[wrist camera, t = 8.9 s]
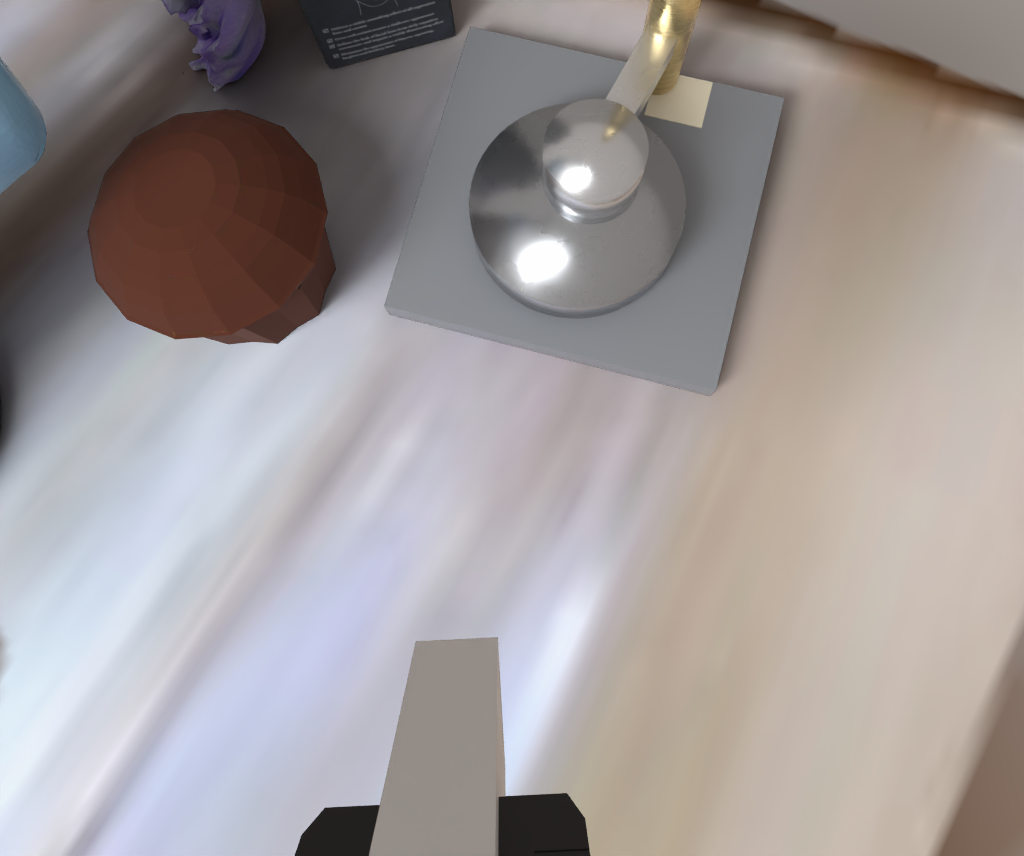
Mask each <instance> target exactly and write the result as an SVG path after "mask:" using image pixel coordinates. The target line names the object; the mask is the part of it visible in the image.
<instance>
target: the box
mask: <svg viewBox="0 0 1024 856" xmlns="http://www.w3.org/2000/svg"><path fill="white" fill-rule="evenodd" d="M299 2H300V4H301V7H302V9H303V12H304V14H305V16H306V18H307V20H308V23H309V25H310V27H311V29H312V31H313V34H314V36H315V38H316V41H317V43H318V45H319V48H320V50H321V52H322V55H323V57H324V59H325V62H326V64H327V65H328V66H329V68H337V67H341V66H344V65H348V64H351V63H355V62H359V61H363V60H367V59H370V58H374V57H377V56H381V55H385V54H389V53H392V52H396V51H400V50H404V49H407V48H411V47H415V46H419V45H422V44H426V43H430V42H433V41H437V40H441V39H445V38H448V37H452V36H455V26H454V19H453V12H452V6H451V1H450V0H299Z"/></svg>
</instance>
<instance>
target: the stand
mask: <svg viewBox="0 0 1024 856" xmlns="http://www.w3.org/2000/svg"><path fill="white" fill-rule="evenodd" d="M625 64H626V62H624V61H620V60H615V59H611V58H607V57H602V56H598V55H593V54H589V53H585V52H580V51H576V50H571V49H567V48H563V47H558V46H554V45H549V44H545V43H540V42H536V41H532V40H527V39H523V38H518V37H514V36H510V35H505V34H501V33H496V32H492V31H487V30H483V29H479V28H474V27H470V28H469V32H468V35H467V38H466V41H465V45H464V48H463V51H462V54H461V58H460V61H459V64H458V67H457V71H456V74H455V77H454V80H453V84H452V87H451V90H450V93H449V97H448V100H447V103H446V106H445V110H444V113H443V116H442V119H441V123H440V126H439V129H438V132H437V136H436V139H435V142H434V145H433V149H432V152H431V155H430V158H429V162H428V165H427V168H426V171H425V175H424V178H423V181H422V184H421V188H420V191H419V194H418V197H417V201H416V204H415V207H414V210H413V214H412V217H411V220H410V223H409V227H408V230H407V233H406V237H405V240H404V243H403V246H402V250H401V253H400V256H399V259H398V263H397V266H396V269H395V272H394V276H393V279H392V282H391V285H390V289H389V292H388V295H387V298H386V302H385V305H384V306H385V308H386V310H387V311H388V313H389V314H390V315H394V316H398V317H402V318H406V319H409V320H413V321H417V322H421V323H425V324H429V325H433V326H437V327H441V328H445V329H449V330H453V331H457V332H460V333H464V334H468V335H472V336H476V337H480V338H484V339H488V340H492V341H496V342H500V343H504V344H507V345H511V346H515V347H519V348H523V349H527V350H531V351H535V352H539V353H543V354H547V355H551V356H555V357H558V358H562V359H566V360H570V361H574V362H578V363H582V364H586V365H590V366H594V367H598V368H602V369H605V370H609V371H613V372H617V373H621V374H625V375H629V376H633V377H637V378H641V379H645V380H649V381H653V382H656V383H660V384H664V385H668V386H672V387H676V388H680V389H684V390H688V391H692V392H696V393H700V394H704V395H707V396H710V395H711V394H712V393H713V392H715V391H716V388H717V384H718V380H719V375H720V371H721V367H722V363H723V358H724V354H725V350H726V346H727V341H728V337H729V333H730V328H731V324H732V320H733V316H734V311H735V307H736V303H737V299H738V294H739V290H740V286H741V281H742V277H743V273H744V269H745V264H746V260H747V256H748V252H749V247H750V243H751V239H752V234H753V230H754V226H755V222H756V217H757V213H758V209H759V205H760V200H761V196H762V192H763V187H764V183H765V179H766V175H767V170H768V166H769V162H770V158H771V153H772V149H773V145H774V140H775V136H776V132H777V128H778V123H779V119H780V115H781V111H782V106H783V102H784V98H783V97H779V96H774V95H770V94H766V93H761V92H757V91H752V90H748V89H744V88H739V87H735V86H730V85H726V84H721V83H717V82H713V81H708V80H704V79H699V78H695V77H691V76H686V75H682V74H680V75H679V78H678V81H677V84H676V85H675V87H674V88H673V89H672V90H671V91H669V92H668V93H666V94H662V95H651V96H650V97H649V99H648V101H647V103H646V104H645V106H644V108H643V110H642V112H641V113H640V115H639V117H638V119H639V120H640V121H641V122H642V123H643V124H644V125H646V126H647V127H648V128H650V129H651V130H652V131H653V132H654V133H655V134H656V135H657V136H658V137H659V138H660V139H661V140H662V141H663V143H664V144H665V145H666V146H667V148H668V149H669V151H670V152H671V154H672V156H673V157H674V159H675V161H676V163H677V165H678V168H679V170H680V172H681V176H682V179H683V183H684V188H685V195H686V214H685V221H684V227H683V230H682V233H681V237H680V240H679V242H678V244H677V246H676V248H675V250H674V253H673V255H672V257H671V259H670V261H669V263H668V266H667V267H666V269H665V270H664V272H663V273H662V275H661V277H660V278H659V279H658V280H657V281H656V283H655V284H654V285H653V286H652V287H651V288H650V289H649V290H648V291H647V292H646V293H645V294H643V295H642V296H641V297H640V298H638V299H637V300H635V301H634V302H632V303H631V304H629V305H627V306H625V307H623V308H621V309H619V310H617V311H614V312H611V313H608V314H605V315H601V316H596V317H591V318H580V319H575V318H561V317H555V316H550V315H546V314H543V313H539V312H537V311H534V310H532V309H530V308H528V307H525V306H524V305H522V304H520V303H519V302H517V301H515V300H514V299H513V298H511V297H510V296H509V295H508V294H506V293H505V292H504V291H503V290H502V289H501V288H500V287H499V286H498V285H497V284H496V283H495V282H494V281H493V279H492V278H491V277H490V275H489V274H488V272H487V271H486V269H485V267H484V266H483V264H482V262H481V260H480V258H479V255H478V252H477V250H476V246H475V242H474V238H473V233H472V227H471V222H470V214H469V194H470V188H471V183H472V178H473V176H474V173H475V170H476V167H477V165H478V163H479V161H480V159H481V157H482V155H483V154H484V152H485V151H486V149H487V148H488V146H489V145H490V144H491V142H492V141H493V140H494V139H495V138H496V137H497V136H498V135H499V134H500V133H501V132H502V131H503V130H504V129H505V128H507V127H508V126H509V125H510V124H512V123H513V122H515V121H516V120H518V119H519V118H521V117H523V116H525V115H527V114H529V113H531V112H533V111H536V110H539V109H542V108H545V107H549V106H553V105H558V104H566V103H575V102H578V101H581V100H586V99H606V97H607V96H608V94H609V92H610V90H611V89H612V87H613V85H614V83H615V82H616V80H617V78H618V76H619V75H620V73H621V71H622V69H623V68H624V66H625Z"/></svg>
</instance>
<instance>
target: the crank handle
mask: <svg viewBox="0 0 1024 856" xmlns="http://www.w3.org/2000/svg"><path fill="white" fill-rule="evenodd" d="M701 2H702V0H650V2H649V6H648V11H647V16H646V21H645V25H644V30H643V34H642V36H641V38H640V40H639V41H638V43H637V45H636V47H635V48H634V50H633V52H632V54H631V55H630V57H629V59H628V61H627V62H626V64H625V66H624V68H623V69H622V71H621V73H620V75H619V76H618V78H617V80H616V82H615V83H614V85H613V87H612V89H611V90H610V92H609V94H608V96H607V97H606V99H586V100H581V101H578V102H575V103H566V104H558V105H553V106H549V107H545V108H542V109H539V110H536V111H533V112H531V113H529V114H527V115H525V116H523V117H521V118H519V119H518V120H516V121H515V122H513V123H512V124H510V125H509V126H508V127H507V128H505V129H504V130H503V131H502V132H501V133H500V134H499V135H498V136H497V137H496V138H495V139H494V140H493V141H492V142H491V144H490V145H489V146H488V148H487V149H486V151H485V152H484V154H483V155H482V157H481V159H480V161H479V163H478V165H477V167H476V170H475V173H474V176H473V178H472V183H471V188H470V194H469V214H470V222H471V227H472V233H473V238H474V242H475V246H476V250H477V252H478V255H479V258H480V260H481V262H482V264H483V266H484V267H485V269H486V271H487V272H488V274H489V275H490V277H491V278H492V279H493V281H494V282H495V283H496V284H497V285H498V286H499V287H500V288H501V289H502V290H503V291H504V292H505V293H506V294H508V295H509V296H510V297H511V298H513V299H514V300H515V301H517V302H519V303H520V304H522V305H524V306H525V307H528V308H530V309H532V310H534V311H537V312H539V313H543V314H546V315H550V316H555V317H561V318H575V319H580V318H591V317H596V316H601V315H605V314H608V313H611V312H614V311H617V310H619V309H621V308H623V307H625V306H627V305H629V304H631V303H632V302H634V301H635V300H637V299H638V298H640V297H641V296H642V295H643V294H645V293H646V292H647V291H648V290H649V289H650V288H651V287H652V286H653V285H654V284H655V283H656V281H657V280H658V279H659V278H660V277H661V275H662V273H663V272H664V270H665V269H666V267H667V266H668V263H669V261H670V259H671V257H672V255H673V253H674V250H675V248H676V246H677V244H678V242H679V240H680V237H681V233H682V230H683V227H684V221H685V214H686V195H685V188H684V183H683V179H682V176H681V172H680V170H679V168H678V165H677V163H676V161H675V159H674V157H673V156H672V154H671V152H670V151H669V149H668V148H667V146H666V145H665V144H664V143H663V141H662V140H661V139H660V138H659V137H658V136H657V135H656V134H655V133H654V132H653V131H652V130H651V129H650V128H648V127H647V126H646V125H644V124H643V123H642V122H641V121H640V120H639V119H638V117H639V115H640V113H641V112H642V110H643V108H644V106H645V104H646V103H647V101H648V99H649V97H650V96H651V95H662V94H666V93H668V92H669V91H671V90H672V89H673V88H674V87H675V85H676V84H677V81H678V78H679V75H680V71H681V68H682V65H683V61H684V58H685V55H686V52H687V48H688V45H689V42H690V38H691V35H692V32H693V29H694V25H695V22H696V19H697V15H698V12H699V9H700V5H701Z"/></svg>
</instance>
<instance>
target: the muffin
mask: <svg viewBox="0 0 1024 856" xmlns="http://www.w3.org/2000/svg"><path fill="white" fill-rule="evenodd" d="M327 213H328V212H327V207H326V203H325V199H324V194H323V190H322V186H321V181H320V177H319V173H318V168H317V164H316V163H315V162H314V160H313V159H312V158H311V157H310V156H309V155H308V154H307V153H306V151H305V150H304V149H303V148H302V147H301V146H300V145H299V144H298V142H297V141H296V140H295V139H294V138H293V137H292V136H291V135H290V133H289V132H288V131H287V130H286V129H285V128H284V127H282V126H279V125H276V124H274V123H271V122H268V121H266V120H263V119H260V118H258V117H255V116H252V115H250V114H247V113H244V112H242V111H239V110H227V109H225V110H215V111H206V112H196V113H186V114H179V115H176V116H174V117H172V118H170V119H168V120H167V121H165V122H163V123H161V124H159V125H157V126H156V127H154V128H152V129H150V130H148V131H146V132H144V133H143V134H141V135H139V136H137V137H135V138H134V139H133V141H132V142H131V143H130V144H129V145H128V147H127V148H126V149H125V150H124V151H123V152H122V154H121V155H120V156H119V157H118V158H117V160H116V161H115V162H114V163H113V164H112V166H111V167H110V168H109V169H108V170H107V171H106V173H105V175H104V178H103V181H102V184H101V187H100V190H99V194H98V197H97V200H96V203H95V206H94V209H93V212H92V216H91V219H90V223H89V228H88V237H89V243H90V248H91V254H92V260H93V266H94V271H95V277H96V281H97V282H98V284H99V285H100V286H101V287H102V289H103V290H104V291H105V292H106V294H107V295H108V296H109V297H110V299H111V300H112V301H113V302H114V304H115V305H116V306H117V307H118V309H119V310H120V311H121V312H122V314H123V315H124V316H125V317H126V318H127V320H130V321H132V322H134V323H137V324H139V325H142V326H144V327H147V328H149V329H152V330H154V331H157V332H159V333H161V334H164V335H166V336H169V337H171V338H174V339H185V338H198V337H205V338H208V339H212V340H215V341H219V342H222V343H226V344H235V343H245V342H264V343H276V344H278V343H279V342H280V341H282V340H283V339H284V338H285V337H286V336H288V335H289V334H290V333H291V332H292V331H294V330H295V329H296V328H297V327H299V326H301V325H302V324H304V323H306V322H307V321H309V320H311V319H313V318H314V317H316V316H318V315H319V313H320V310H321V306H322V302H323V298H324V295H325V291H326V289H327V287H328V285H329V283H330V281H331V279H332V277H333V275H334V273H335V270H336V268H335V264H334V260H333V257H332V253H331V249H330V245H329V242H328V238H327V234H326V231H325V227H324V226H325V221H326V217H327Z"/></svg>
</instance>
